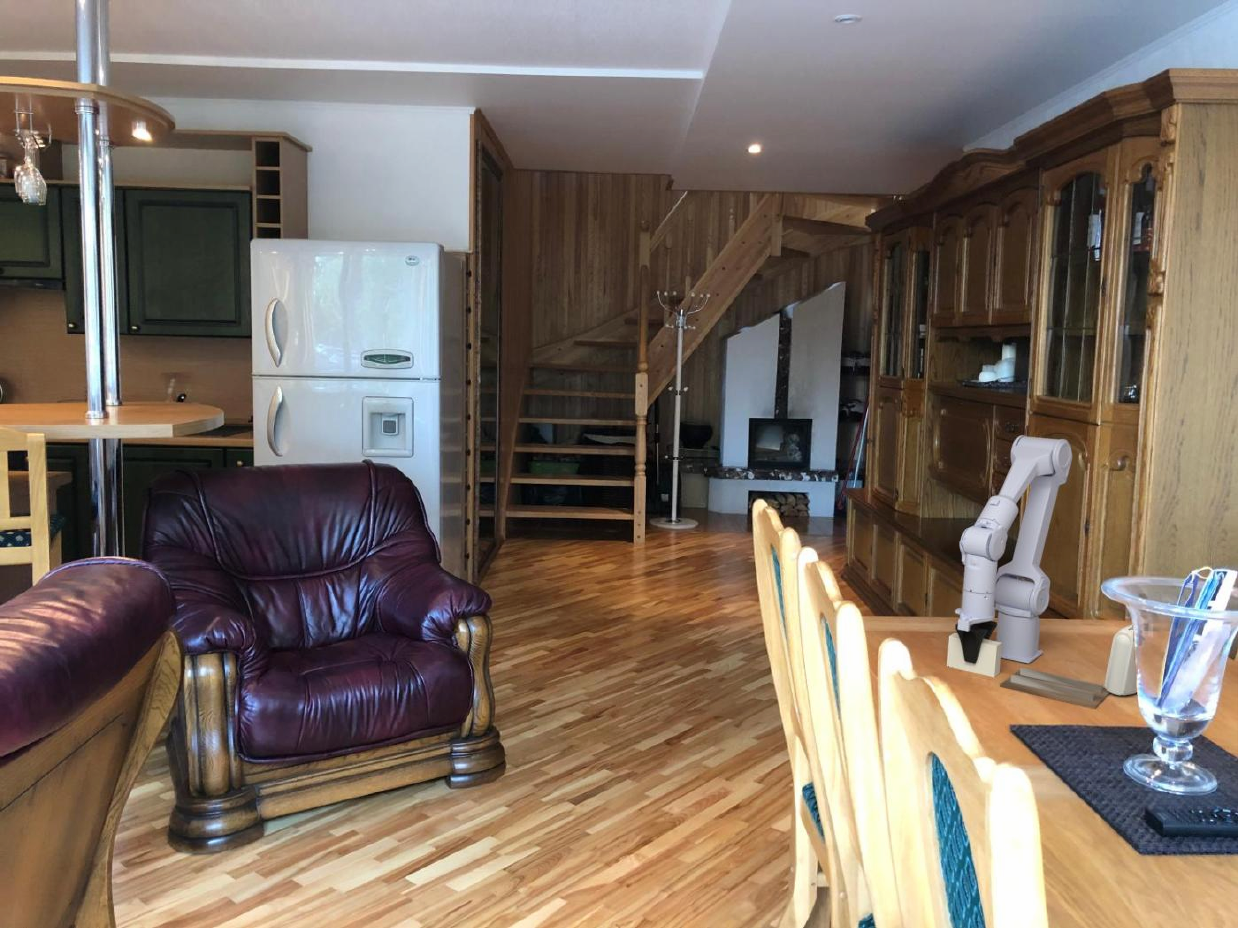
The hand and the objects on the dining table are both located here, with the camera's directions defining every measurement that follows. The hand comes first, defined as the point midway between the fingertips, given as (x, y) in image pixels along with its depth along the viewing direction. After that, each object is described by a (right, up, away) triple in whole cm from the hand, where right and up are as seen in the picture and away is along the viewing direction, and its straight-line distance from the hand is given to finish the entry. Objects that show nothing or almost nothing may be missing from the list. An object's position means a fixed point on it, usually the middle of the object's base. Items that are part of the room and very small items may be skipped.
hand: (973, 659), depth 186 cm
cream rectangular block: (0, -2, 0) cm, 2 cm away
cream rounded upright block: (+24, -4, -9) cm, 26 cm away
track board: (+12, -3, -9) cm, 15 cm away
